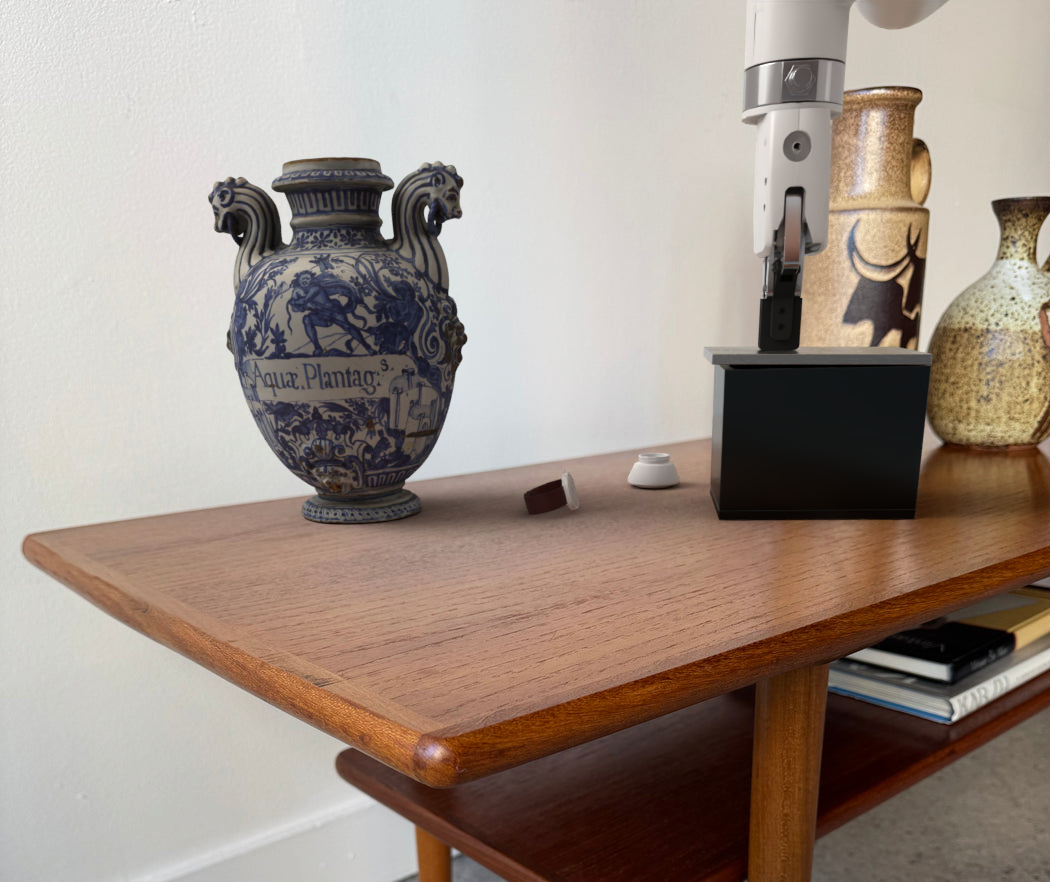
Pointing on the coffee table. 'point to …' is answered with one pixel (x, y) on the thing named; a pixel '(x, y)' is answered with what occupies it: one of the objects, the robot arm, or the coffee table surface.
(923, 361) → the bin lid
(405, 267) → the decorative vase
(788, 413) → the waste bin
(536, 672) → the coffee table surface
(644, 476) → the lidless jar
